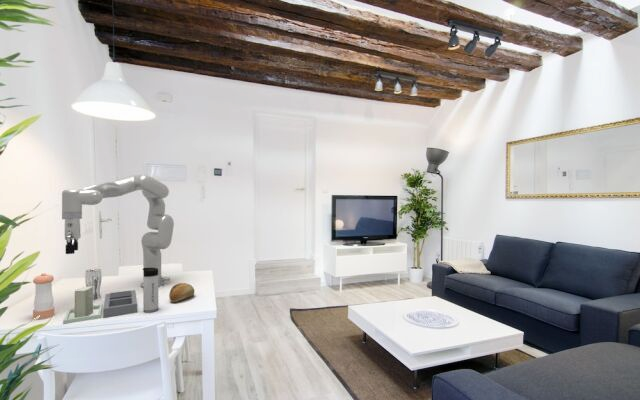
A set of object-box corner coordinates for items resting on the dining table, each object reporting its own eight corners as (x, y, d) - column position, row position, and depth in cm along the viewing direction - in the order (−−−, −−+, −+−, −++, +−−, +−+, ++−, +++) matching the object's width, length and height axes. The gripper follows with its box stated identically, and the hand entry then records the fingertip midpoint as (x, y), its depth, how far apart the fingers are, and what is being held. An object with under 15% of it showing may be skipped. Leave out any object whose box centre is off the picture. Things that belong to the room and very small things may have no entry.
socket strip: (135, 297, 169) (135, 288, 169) (137, 312, 149) (137, 302, 149) (105, 301, 162) (105, 292, 162) (103, 317, 142) (103, 307, 142)
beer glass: (104, 297, 169) (104, 269, 168) (91, 302, 162) (91, 272, 162) (95, 296, 171) (95, 268, 170) (81, 300, 164) (81, 271, 164)
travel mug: (146, 308, 154) (146, 266, 154) (160, 307, 155) (160, 266, 155) (140, 312, 148) (140, 269, 148) (155, 312, 149) (155, 269, 148)
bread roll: (163, 302, 162) (163, 287, 162) (183, 293, 177) (183, 279, 176) (179, 304, 160) (179, 288, 159) (198, 295, 174) (198, 280, 174)
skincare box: (83, 312, 148) (83, 286, 148) (93, 312, 148) (93, 286, 148) (74, 318, 142) (73, 290, 141) (84, 317, 142) (84, 290, 142)
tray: (102, 307, 155) (102, 304, 155) (100, 317, 142) (100, 314, 142) (68, 312, 148) (68, 309, 148) (63, 324, 135) (63, 320, 135)
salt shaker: (44, 313, 147) (43, 271, 146) (58, 313, 146) (58, 271, 146) (28, 319, 140) (27, 275, 139) (43, 320, 139) (43, 275, 139)
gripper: (78, 216, 146) (78, 254, 147) (84, 214, 161) (84, 248, 162) (58, 217, 143) (57, 255, 143) (65, 214, 158) (65, 249, 158)
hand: (72, 252), depth 152 cm, fingers open, 9 cm apart
